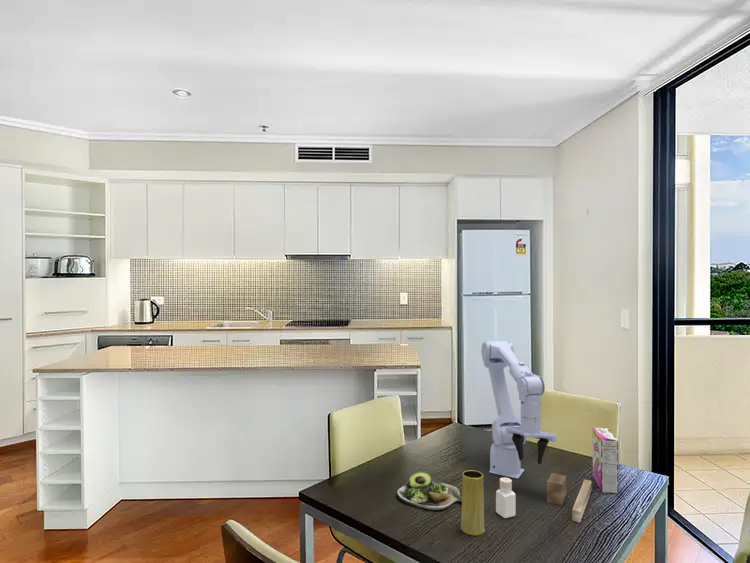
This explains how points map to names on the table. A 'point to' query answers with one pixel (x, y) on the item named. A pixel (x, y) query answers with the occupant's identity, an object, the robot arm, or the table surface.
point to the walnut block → (556, 489)
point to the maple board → (581, 501)
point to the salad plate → (428, 492)
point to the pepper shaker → (505, 499)
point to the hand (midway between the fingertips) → (530, 461)
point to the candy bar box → (605, 460)
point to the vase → (472, 503)
